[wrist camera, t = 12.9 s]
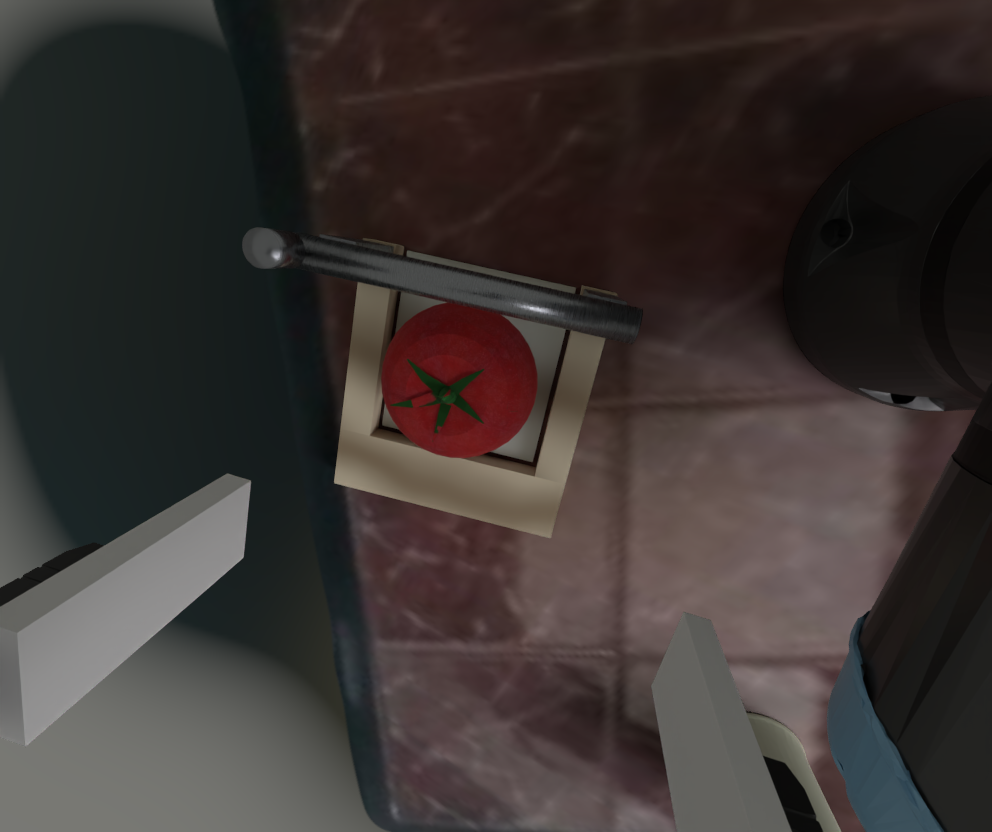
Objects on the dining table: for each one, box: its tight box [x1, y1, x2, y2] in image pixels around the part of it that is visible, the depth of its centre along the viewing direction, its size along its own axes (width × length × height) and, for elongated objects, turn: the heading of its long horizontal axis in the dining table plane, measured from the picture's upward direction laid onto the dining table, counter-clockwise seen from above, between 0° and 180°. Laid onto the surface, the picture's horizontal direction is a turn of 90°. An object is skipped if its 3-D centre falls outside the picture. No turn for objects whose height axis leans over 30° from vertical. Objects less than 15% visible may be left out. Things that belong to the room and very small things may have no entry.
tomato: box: [381, 302, 538, 458], centre depth 28 cm, size 9×9×8 cm
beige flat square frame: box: [334, 238, 618, 538], centre depth 32 cm, size 16×15×2 cm
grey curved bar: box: [242, 227, 643, 344], centre depth 25 cm, size 2×17×9 cm, turn 78°
